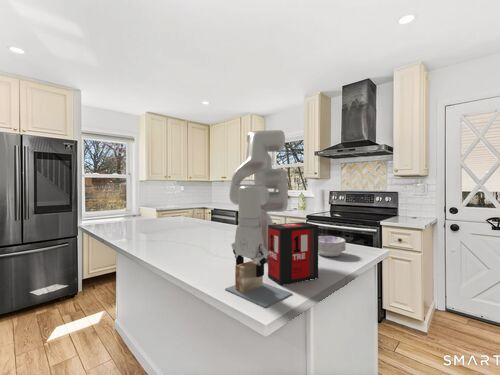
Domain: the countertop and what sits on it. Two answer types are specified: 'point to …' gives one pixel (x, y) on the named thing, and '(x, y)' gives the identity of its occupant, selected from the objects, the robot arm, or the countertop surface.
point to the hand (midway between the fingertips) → (249, 272)
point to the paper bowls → (331, 245)
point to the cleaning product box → (292, 252)
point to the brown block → (247, 277)
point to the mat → (262, 294)
